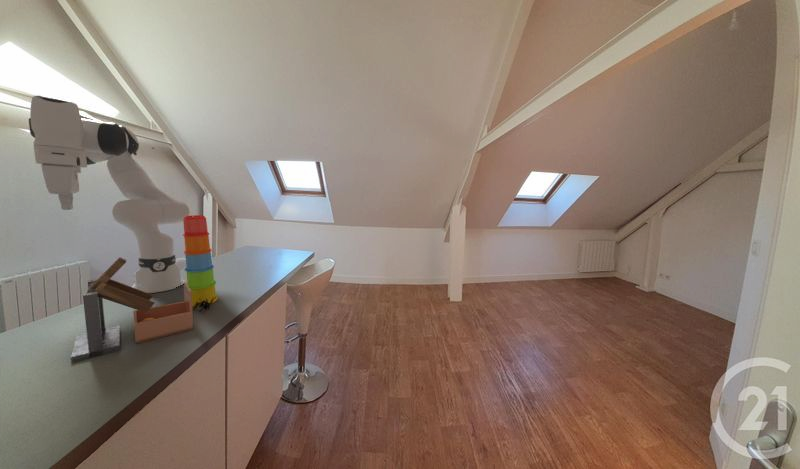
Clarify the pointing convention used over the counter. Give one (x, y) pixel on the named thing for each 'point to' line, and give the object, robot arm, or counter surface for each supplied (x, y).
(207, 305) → the creature
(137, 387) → the counter surface
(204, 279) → the stacking cups
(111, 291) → the lever
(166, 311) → the cup
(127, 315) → the counter surface
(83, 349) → the lever stand
